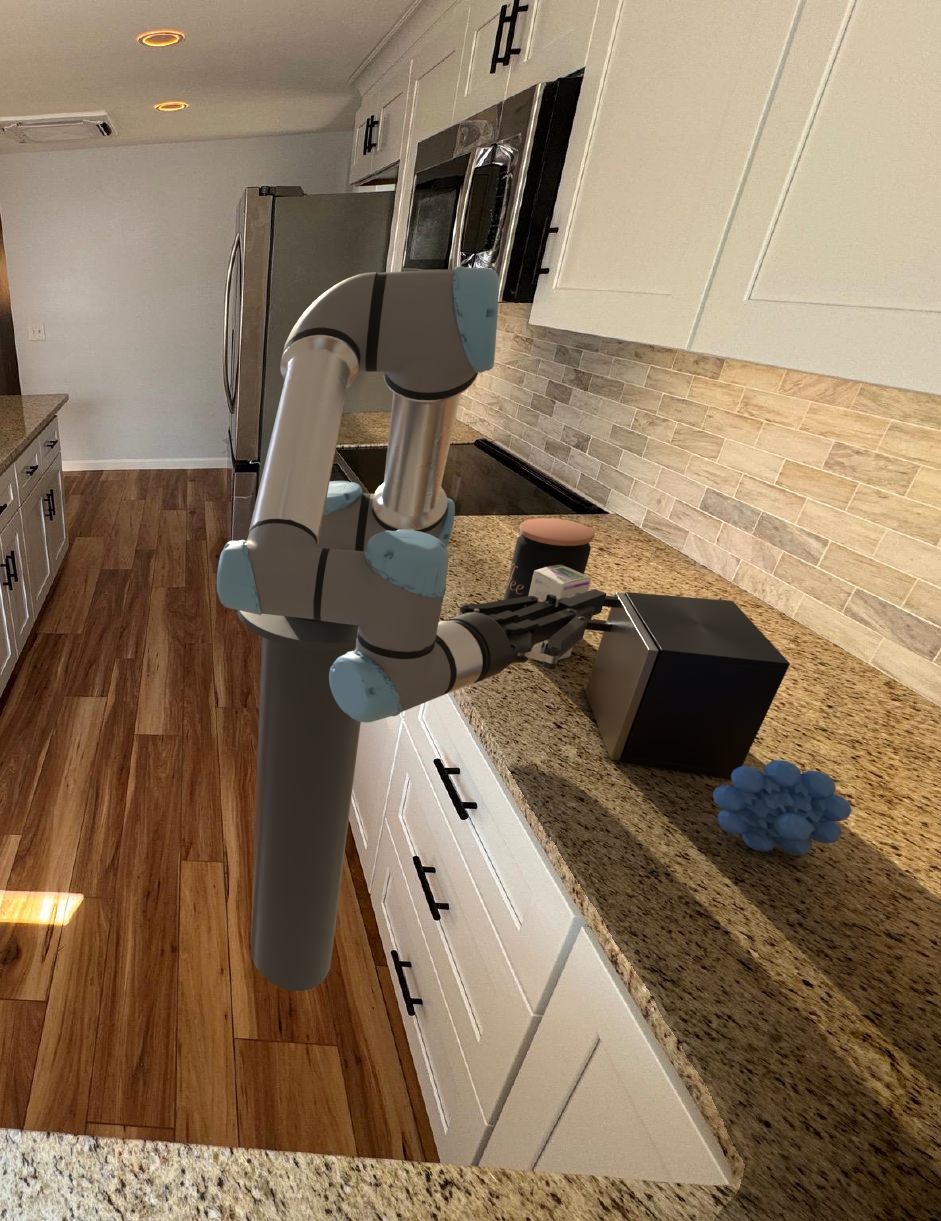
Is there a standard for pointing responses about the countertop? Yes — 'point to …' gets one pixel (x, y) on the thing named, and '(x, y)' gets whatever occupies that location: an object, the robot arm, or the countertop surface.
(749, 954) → the countertop surface
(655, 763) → the black box
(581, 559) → the coffee jar
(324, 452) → the robot arm
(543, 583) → the syrup box
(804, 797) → the blue flower
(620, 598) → the door
